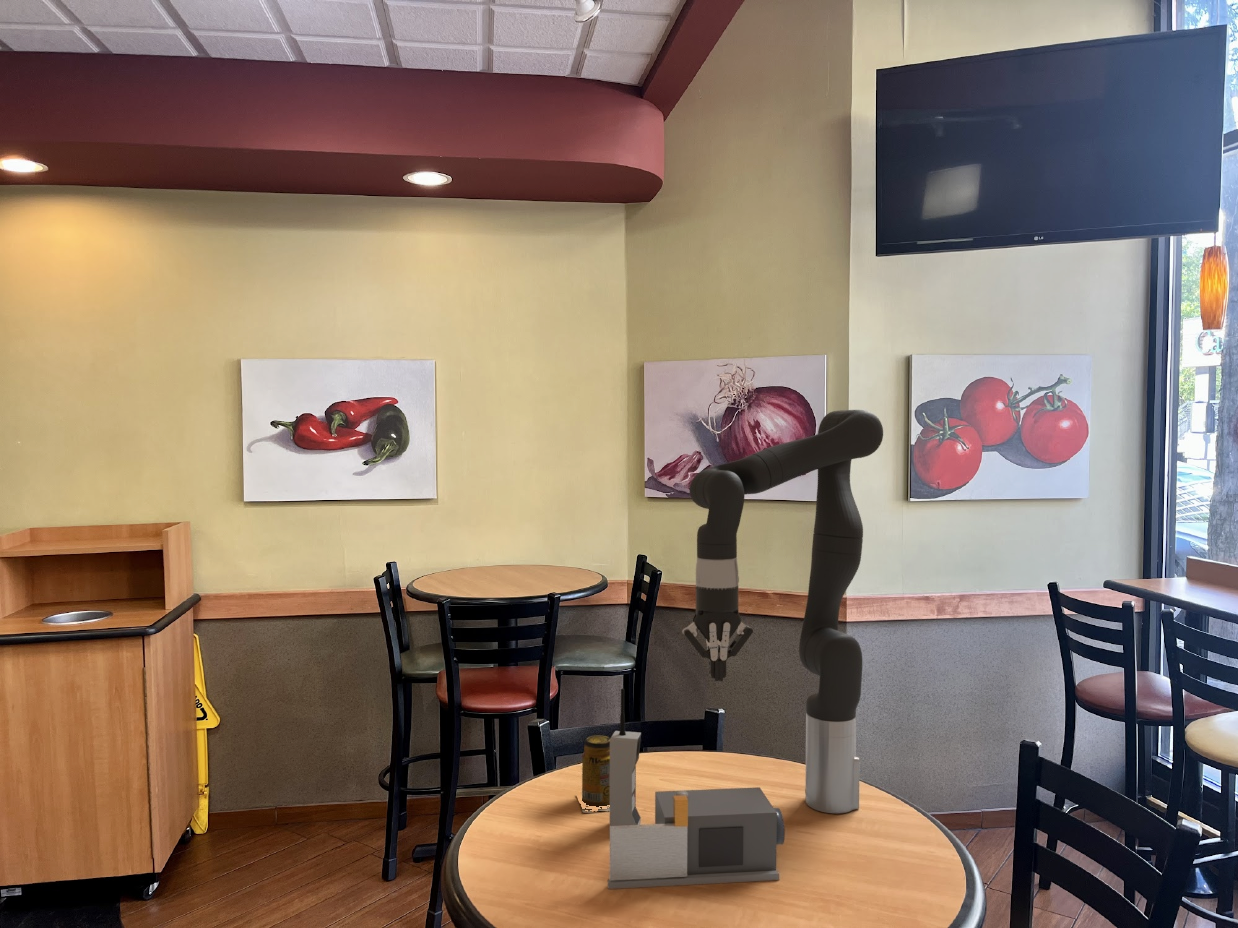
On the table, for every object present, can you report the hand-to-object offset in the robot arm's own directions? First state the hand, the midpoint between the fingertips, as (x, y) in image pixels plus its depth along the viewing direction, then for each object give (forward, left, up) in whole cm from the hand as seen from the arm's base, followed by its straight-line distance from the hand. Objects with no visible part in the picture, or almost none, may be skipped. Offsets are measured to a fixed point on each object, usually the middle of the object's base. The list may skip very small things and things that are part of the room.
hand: (717, 679), depth 150 cm
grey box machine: (+7, +13, -27) cm, 30 cm away
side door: (+15, +18, -25) cm, 34 cm away
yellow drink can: (+20, -13, -27) cm, 36 cm away
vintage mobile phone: (+16, -2, -27) cm, 31 cm away
